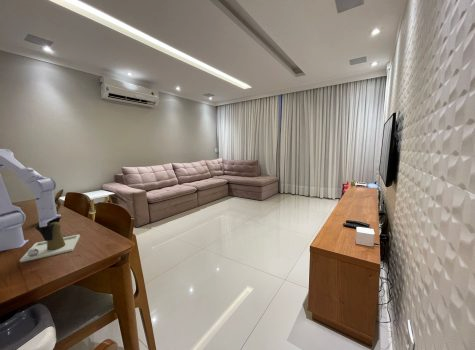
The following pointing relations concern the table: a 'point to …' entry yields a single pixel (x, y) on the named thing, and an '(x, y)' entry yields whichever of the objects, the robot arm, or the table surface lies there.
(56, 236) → the cork
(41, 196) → the robot arm
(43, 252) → the tray
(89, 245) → the table surface
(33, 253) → the mixing ball
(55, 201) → the wooden mug
